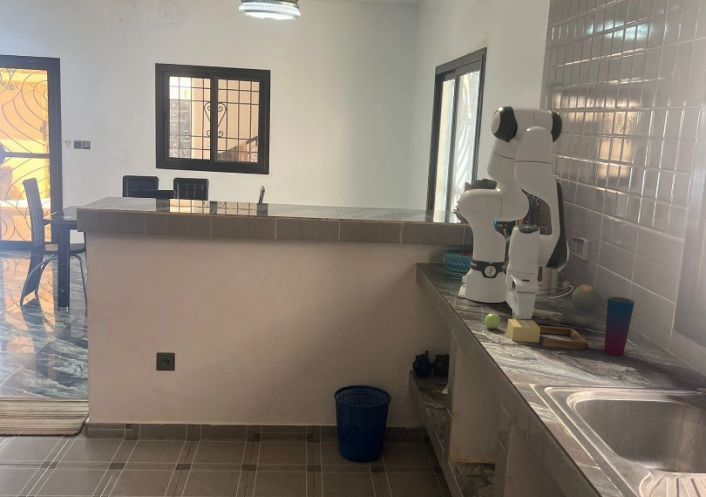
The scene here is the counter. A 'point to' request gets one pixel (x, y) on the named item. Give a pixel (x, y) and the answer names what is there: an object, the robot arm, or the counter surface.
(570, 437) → the counter surface
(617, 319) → the cup
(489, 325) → the lime
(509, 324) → the carton
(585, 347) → the display bay
